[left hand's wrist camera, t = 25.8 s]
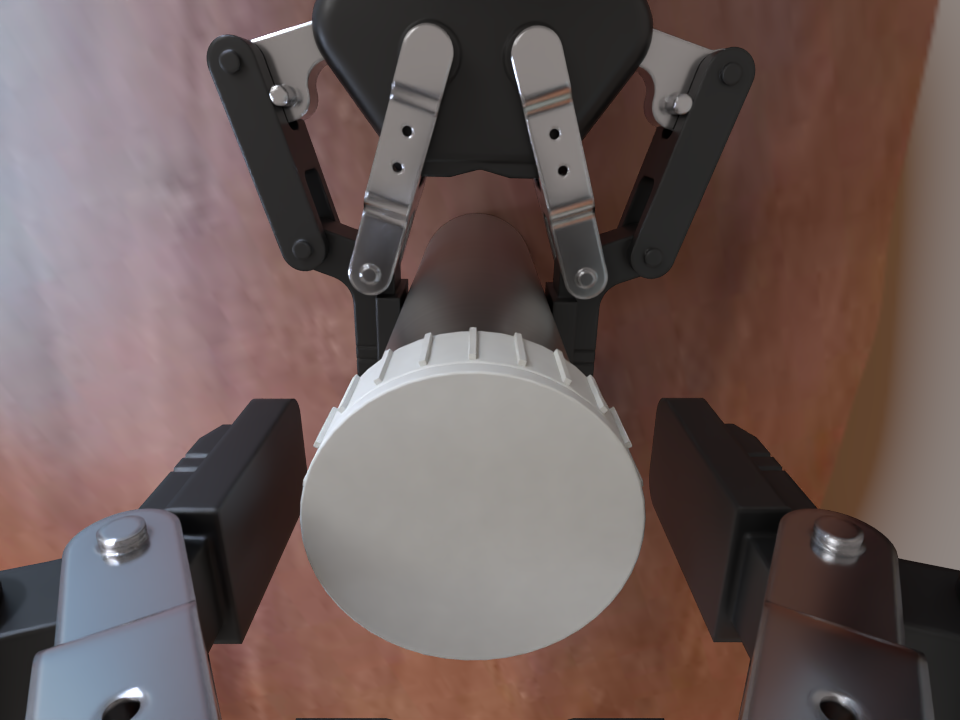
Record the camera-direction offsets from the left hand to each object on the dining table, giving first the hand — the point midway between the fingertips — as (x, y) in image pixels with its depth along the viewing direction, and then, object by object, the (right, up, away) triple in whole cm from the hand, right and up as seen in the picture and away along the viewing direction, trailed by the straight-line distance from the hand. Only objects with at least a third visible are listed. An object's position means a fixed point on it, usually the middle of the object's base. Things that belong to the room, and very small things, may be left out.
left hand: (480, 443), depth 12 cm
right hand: (0, 0, +8) cm, 8 cm away
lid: (0, -1, -2) cm, 2 cm away
